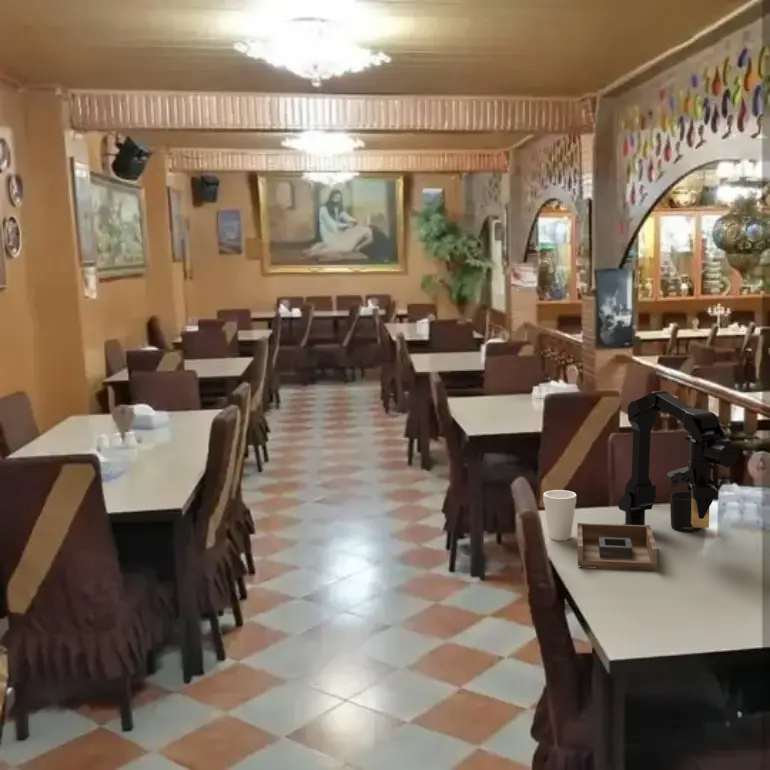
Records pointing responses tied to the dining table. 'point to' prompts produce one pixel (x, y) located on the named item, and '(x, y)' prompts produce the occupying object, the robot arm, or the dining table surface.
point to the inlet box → (616, 546)
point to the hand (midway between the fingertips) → (699, 516)
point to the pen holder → (681, 512)
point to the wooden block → (695, 518)
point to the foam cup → (559, 513)
